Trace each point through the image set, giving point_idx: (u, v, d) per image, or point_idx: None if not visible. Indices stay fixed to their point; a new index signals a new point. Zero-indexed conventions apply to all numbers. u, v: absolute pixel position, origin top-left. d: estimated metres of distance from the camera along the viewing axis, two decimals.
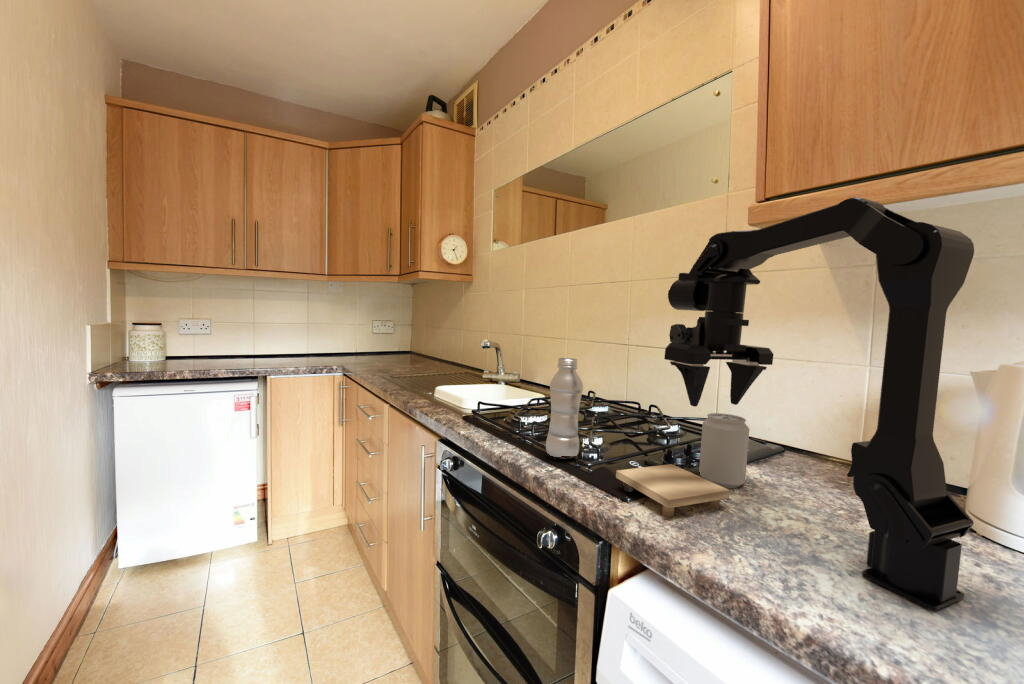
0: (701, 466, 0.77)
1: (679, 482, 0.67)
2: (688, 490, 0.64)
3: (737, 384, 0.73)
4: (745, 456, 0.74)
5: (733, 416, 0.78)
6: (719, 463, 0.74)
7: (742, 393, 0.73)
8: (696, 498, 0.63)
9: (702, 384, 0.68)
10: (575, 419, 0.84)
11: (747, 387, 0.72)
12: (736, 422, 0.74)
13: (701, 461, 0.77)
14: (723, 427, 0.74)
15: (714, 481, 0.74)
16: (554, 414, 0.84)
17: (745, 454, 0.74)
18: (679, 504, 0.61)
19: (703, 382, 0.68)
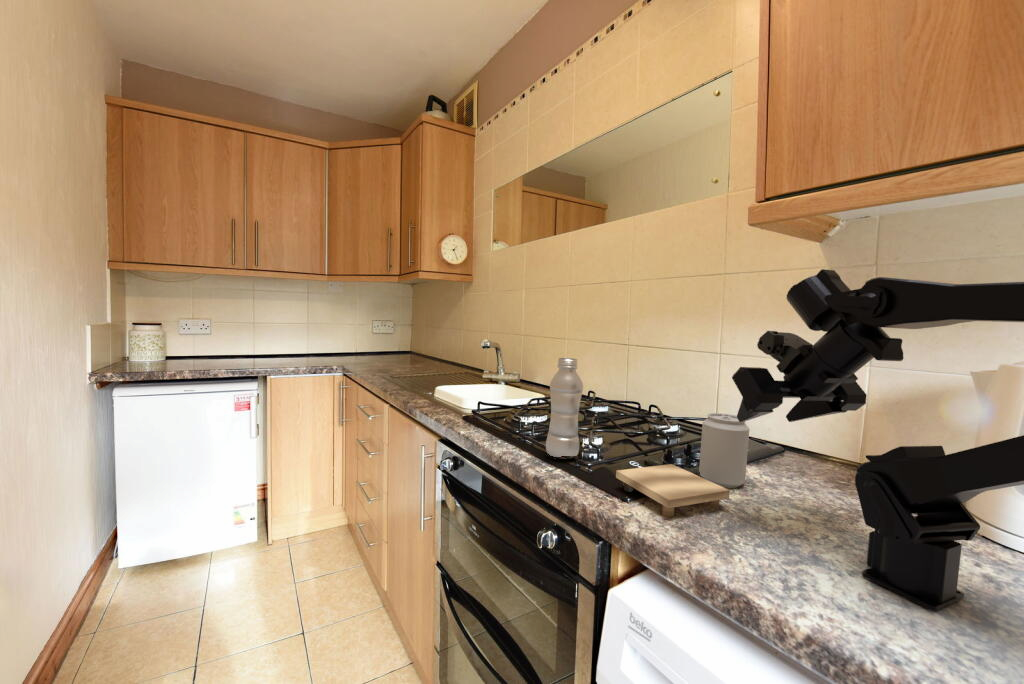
0: (701, 466, 0.77)
1: (679, 482, 0.67)
2: (688, 490, 0.64)
3: (803, 408, 0.66)
4: (745, 456, 0.74)
5: (733, 416, 0.78)
6: (719, 463, 0.74)
7: (802, 419, 0.67)
8: (696, 498, 0.63)
9: (756, 416, 0.63)
10: (575, 419, 0.84)
11: (811, 417, 0.66)
12: (736, 422, 0.74)
13: (701, 461, 0.77)
14: (722, 427, 0.74)
15: (714, 481, 0.74)
16: (554, 414, 0.84)
17: (745, 454, 0.74)
18: (679, 504, 0.61)
19: (758, 416, 0.62)
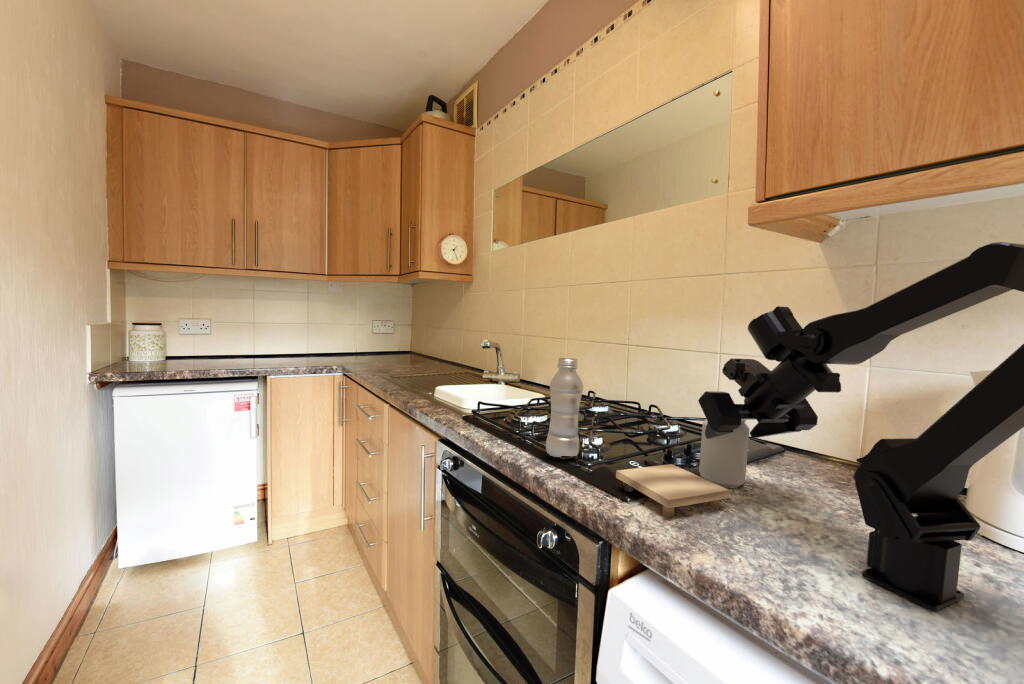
0: (701, 466, 0.77)
1: (679, 482, 0.67)
2: (688, 490, 0.64)
3: (764, 426, 0.74)
4: (745, 456, 0.74)
5: None
6: (719, 463, 0.74)
7: (763, 436, 0.74)
8: (696, 498, 0.63)
9: (720, 435, 0.70)
10: (575, 419, 0.84)
11: (770, 435, 0.73)
12: None
13: (701, 461, 0.77)
14: None
15: (714, 481, 0.74)
16: (554, 414, 0.84)
17: (745, 454, 0.74)
18: (679, 504, 0.61)
19: (721, 434, 0.70)
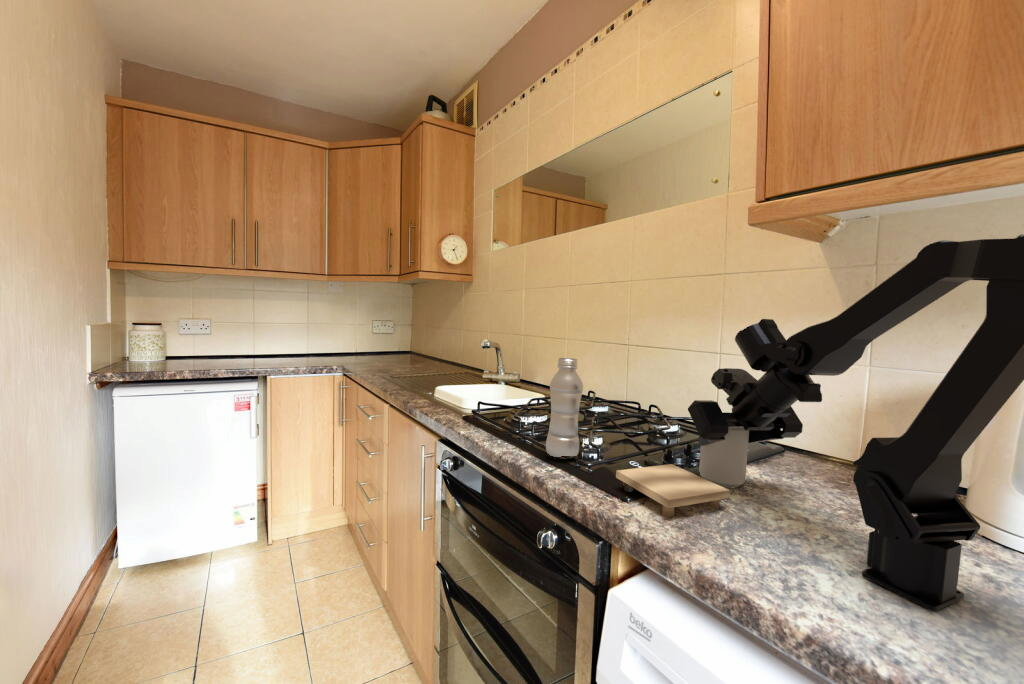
0: (701, 466, 0.77)
1: (679, 482, 0.67)
2: (688, 490, 0.64)
3: (749, 434, 0.76)
4: (745, 456, 0.74)
5: None
6: (719, 462, 0.74)
7: None
8: (696, 498, 0.63)
9: (712, 442, 0.73)
10: (575, 419, 0.84)
11: (755, 442, 0.76)
12: None
13: (701, 461, 0.77)
14: None
15: (714, 481, 0.74)
16: (554, 414, 0.84)
17: (745, 454, 0.74)
18: (679, 504, 0.61)
19: (714, 442, 0.73)
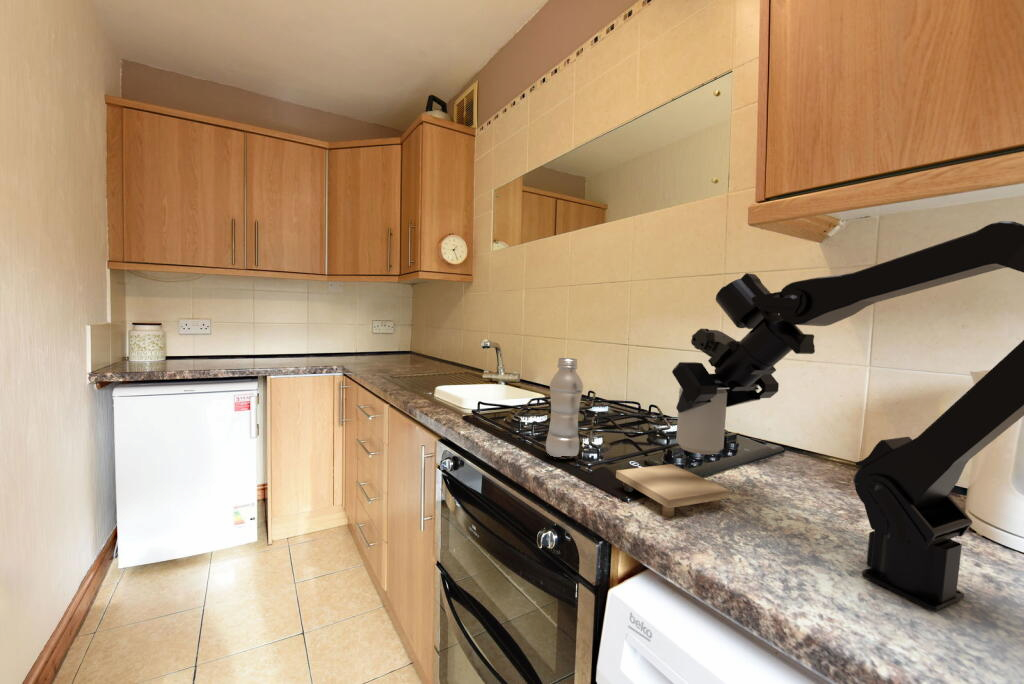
0: (680, 434, 0.73)
1: (679, 482, 0.67)
2: (688, 490, 0.64)
3: None
4: (724, 420, 0.71)
5: None
6: (701, 428, 0.70)
7: None
8: (696, 498, 0.63)
9: (695, 407, 0.69)
10: (575, 419, 0.84)
11: (731, 405, 0.73)
12: None
13: (680, 429, 0.73)
14: None
15: (696, 448, 0.71)
16: (554, 414, 0.84)
17: (724, 418, 0.71)
18: (679, 504, 0.61)
19: (697, 406, 0.68)
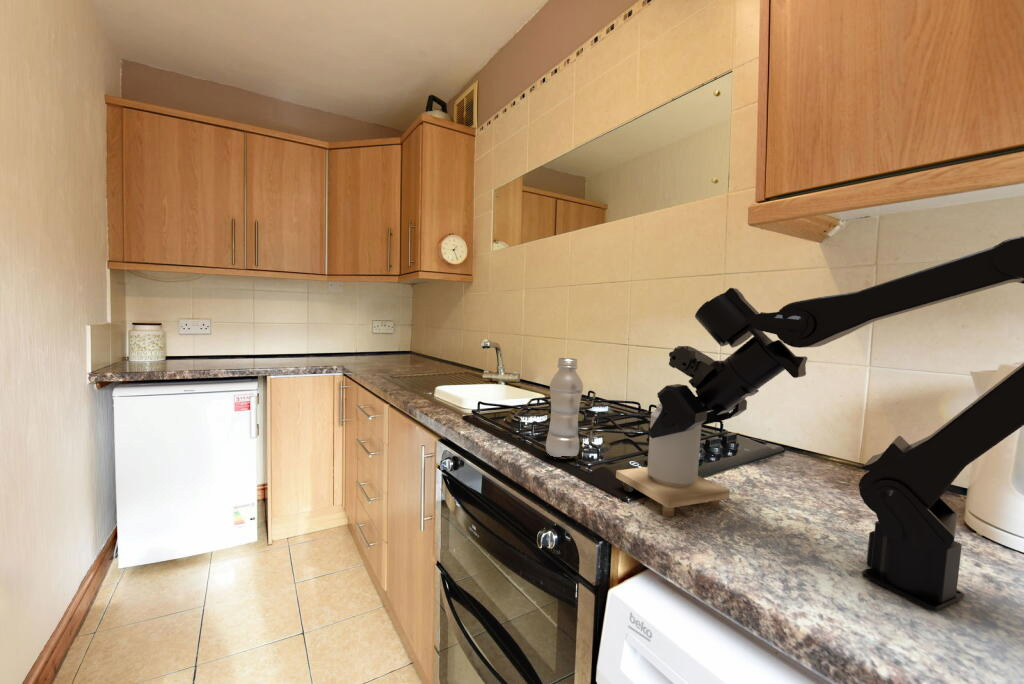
0: (655, 467, 0.66)
1: None
2: (688, 490, 0.64)
3: None
4: (699, 448, 0.67)
5: None
6: (680, 461, 0.64)
7: None
8: (696, 498, 0.63)
9: None
10: (575, 419, 0.84)
11: None
12: None
13: (655, 461, 0.66)
14: None
15: (674, 482, 0.65)
16: (554, 414, 0.84)
17: None
18: (679, 504, 0.61)
19: None
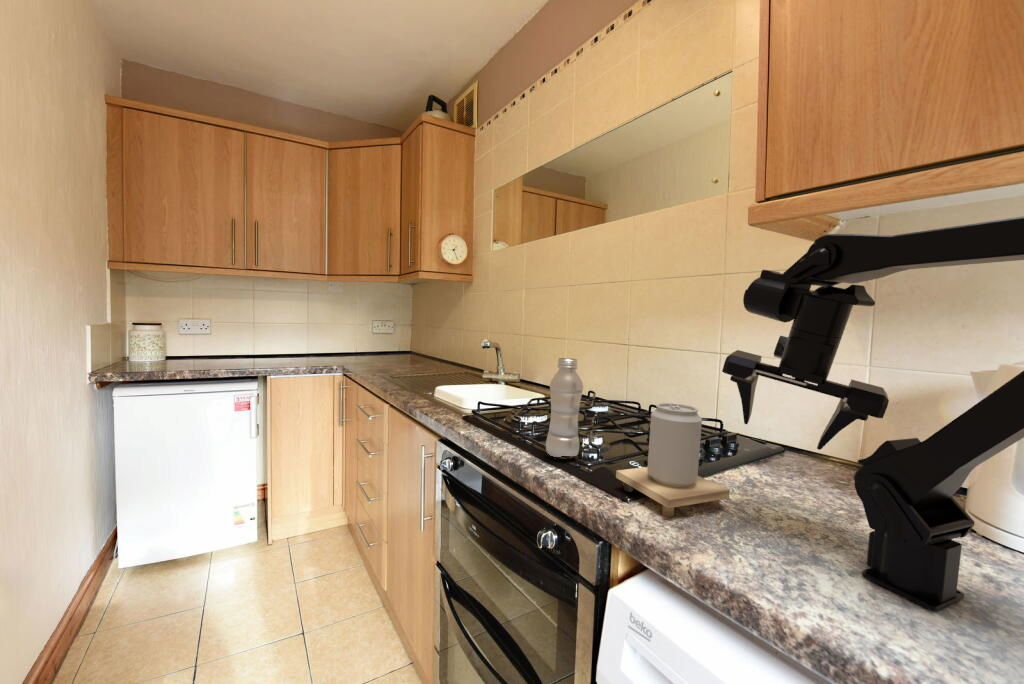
0: (655, 467, 0.66)
1: None
2: (688, 490, 0.64)
3: (827, 426, 0.58)
4: None
5: (677, 405, 0.70)
6: (680, 461, 0.64)
7: (824, 437, 0.58)
8: (696, 498, 0.63)
9: (745, 400, 0.62)
10: (575, 419, 0.84)
11: (832, 433, 0.57)
12: (694, 412, 0.65)
13: (655, 461, 0.66)
14: (683, 420, 0.64)
15: (674, 482, 0.65)
16: (554, 414, 0.84)
17: None
18: (679, 504, 0.61)
19: (746, 399, 0.62)
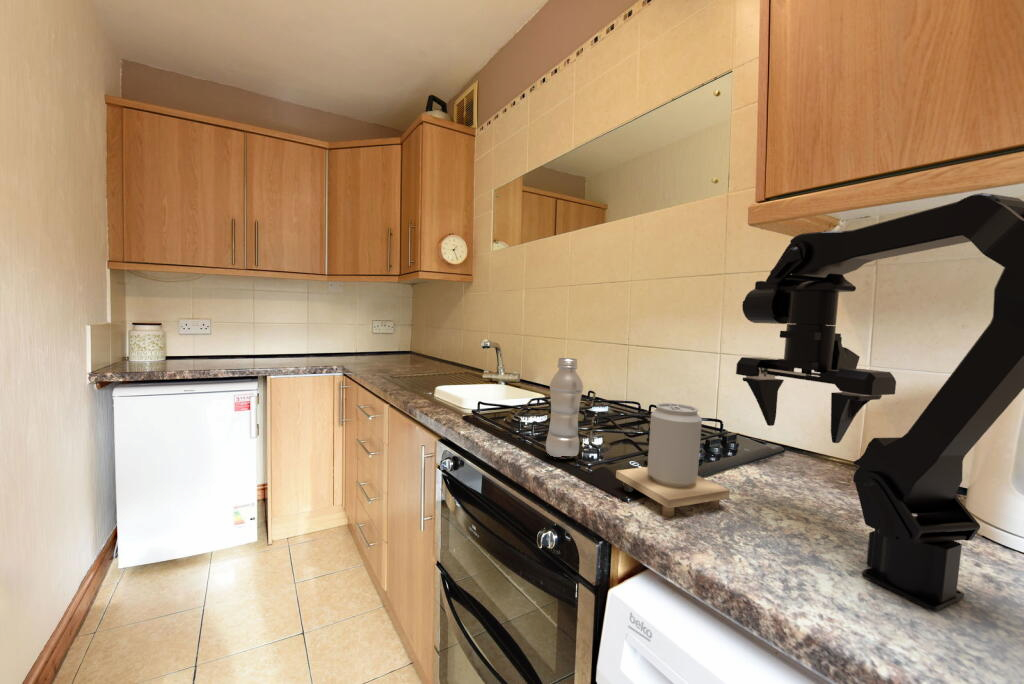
0: (655, 467, 0.66)
1: None
2: (688, 490, 0.64)
3: None
4: (699, 449, 0.67)
5: (677, 405, 0.70)
6: (680, 461, 0.64)
7: (832, 427, 0.57)
8: (696, 498, 0.63)
9: (759, 399, 0.65)
10: (575, 419, 0.84)
11: (836, 421, 0.56)
12: (694, 412, 0.65)
13: (655, 461, 0.66)
14: (683, 420, 0.64)
15: (674, 482, 0.65)
16: (554, 414, 0.84)
17: None
18: (679, 504, 0.61)
19: (759, 397, 0.65)
